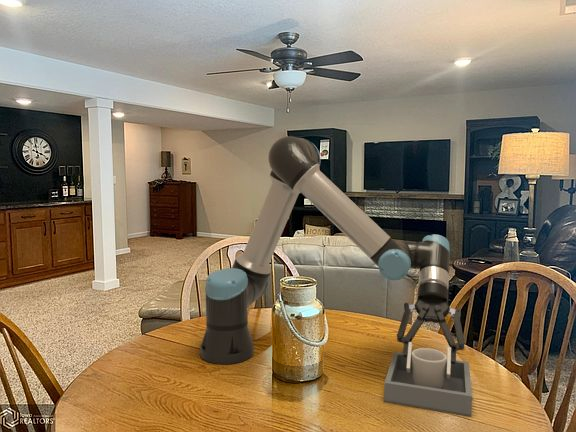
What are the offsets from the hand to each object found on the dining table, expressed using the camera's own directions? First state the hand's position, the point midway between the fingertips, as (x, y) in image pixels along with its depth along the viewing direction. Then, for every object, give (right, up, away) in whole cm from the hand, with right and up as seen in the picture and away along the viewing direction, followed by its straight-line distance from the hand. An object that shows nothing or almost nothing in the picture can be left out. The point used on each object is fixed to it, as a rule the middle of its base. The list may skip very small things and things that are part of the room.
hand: (428, 373), depth 105 cm
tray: (+1, -5, +4) cm, 6 cm away
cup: (+1, -4, +4) cm, 6 cm away
